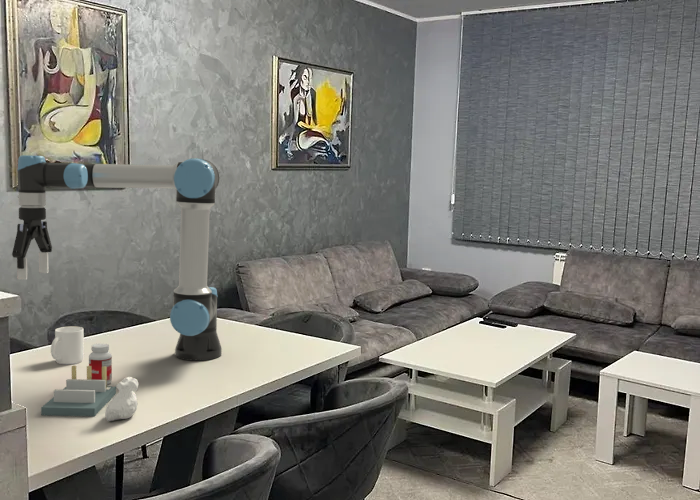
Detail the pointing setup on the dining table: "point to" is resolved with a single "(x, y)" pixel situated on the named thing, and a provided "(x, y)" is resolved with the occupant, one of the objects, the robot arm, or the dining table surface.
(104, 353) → the pill bottle
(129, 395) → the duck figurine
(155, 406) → the dining table surface
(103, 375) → the board
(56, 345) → the mug
